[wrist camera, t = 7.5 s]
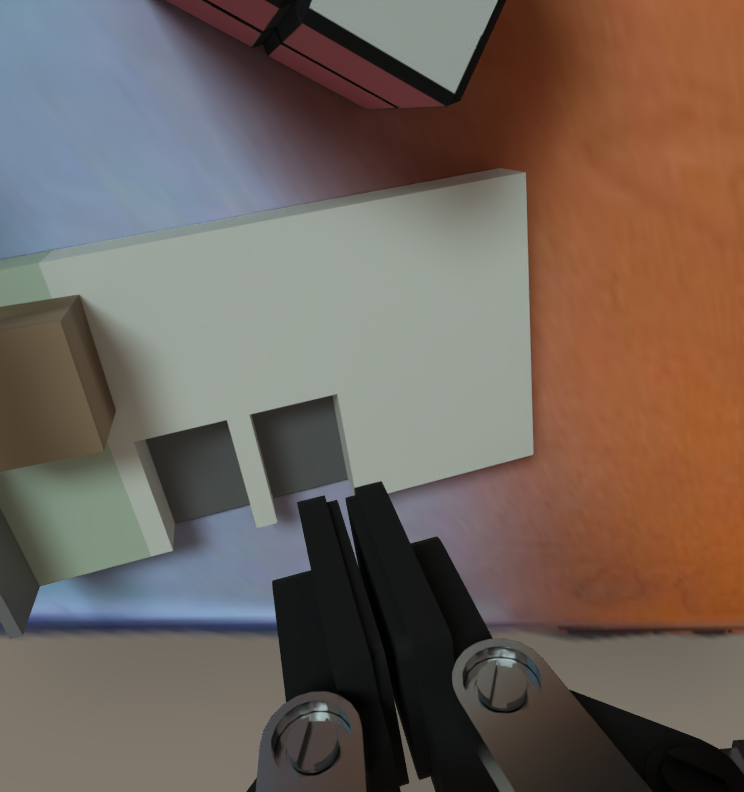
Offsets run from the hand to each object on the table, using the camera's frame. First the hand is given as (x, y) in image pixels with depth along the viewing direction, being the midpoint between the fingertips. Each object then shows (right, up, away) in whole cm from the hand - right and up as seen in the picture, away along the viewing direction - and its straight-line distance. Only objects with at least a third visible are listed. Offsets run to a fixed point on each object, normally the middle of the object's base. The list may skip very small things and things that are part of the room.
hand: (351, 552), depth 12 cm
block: (-13, +4, +12) cm, 18 cm away
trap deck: (-5, +4, +17) cm, 18 cm away
